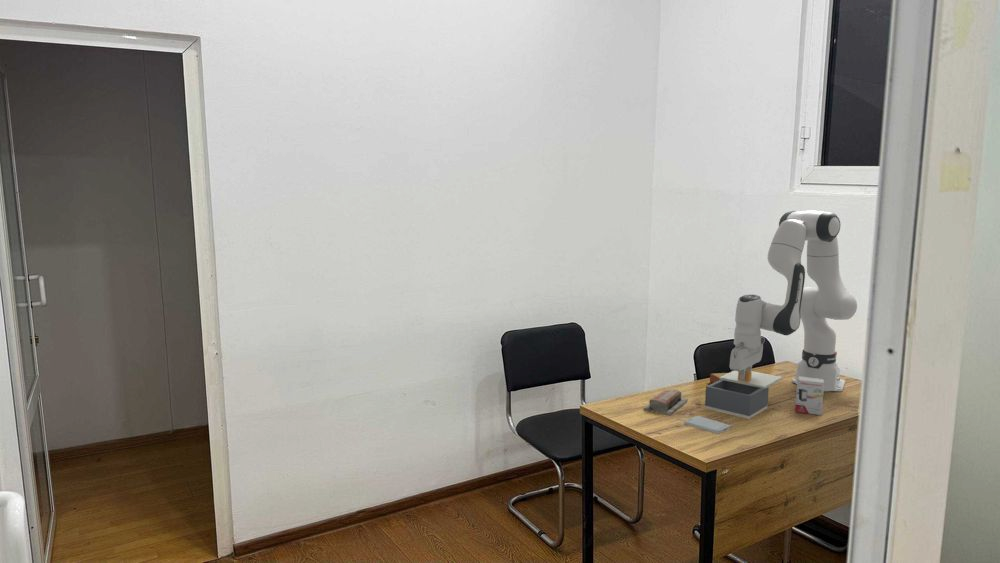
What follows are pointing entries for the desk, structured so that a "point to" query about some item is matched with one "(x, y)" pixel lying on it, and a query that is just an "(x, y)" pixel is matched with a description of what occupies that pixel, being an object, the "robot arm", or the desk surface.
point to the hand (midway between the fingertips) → (744, 378)
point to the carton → (716, 377)
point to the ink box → (809, 395)
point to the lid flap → (752, 379)
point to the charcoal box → (736, 398)
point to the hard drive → (708, 424)
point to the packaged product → (666, 402)
